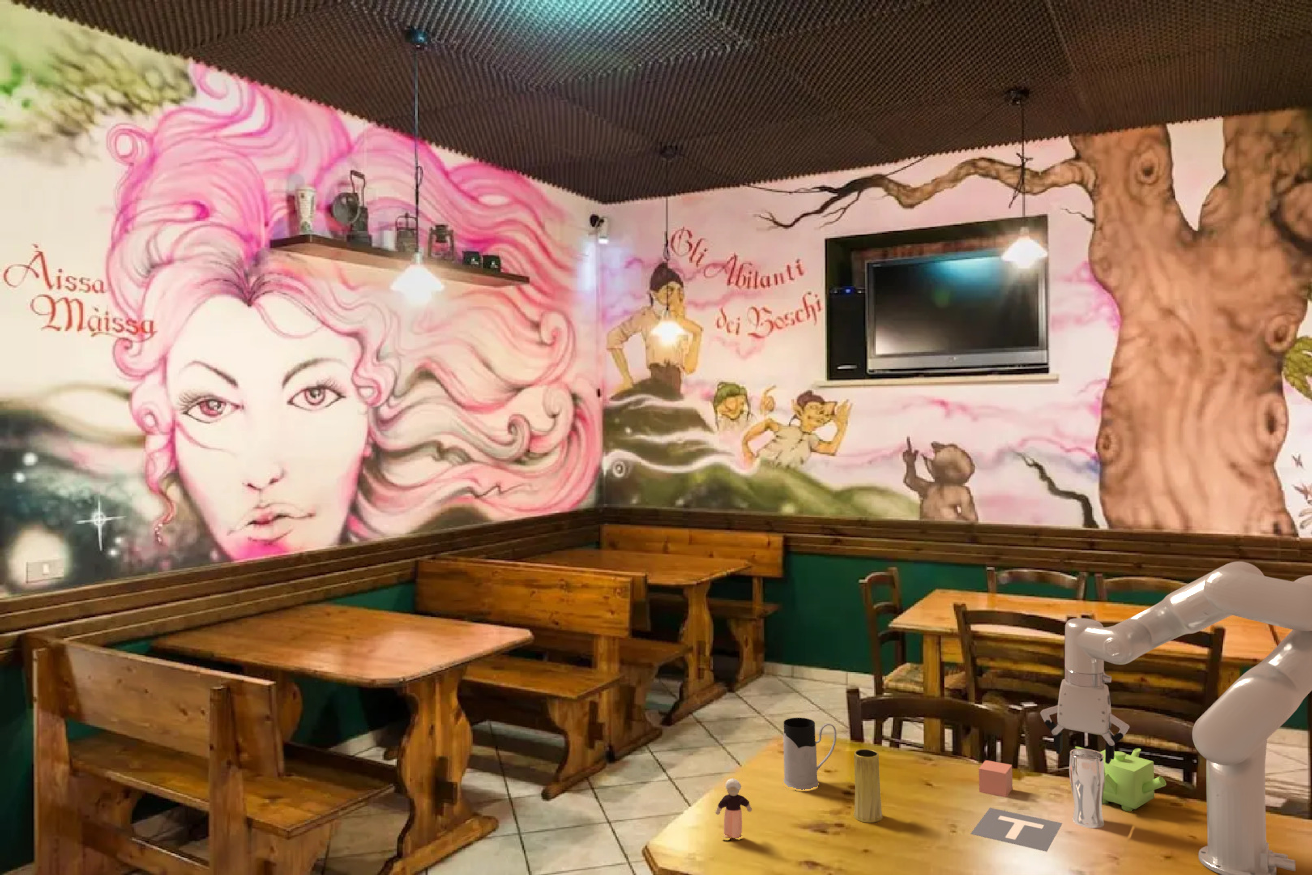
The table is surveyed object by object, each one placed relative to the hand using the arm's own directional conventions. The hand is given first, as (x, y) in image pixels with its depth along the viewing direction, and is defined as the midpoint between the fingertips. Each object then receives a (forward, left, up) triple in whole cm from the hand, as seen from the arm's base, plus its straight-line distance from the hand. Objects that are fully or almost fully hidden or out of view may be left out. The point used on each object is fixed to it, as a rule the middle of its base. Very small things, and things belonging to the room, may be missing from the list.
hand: (1083, 756), depth 194 cm
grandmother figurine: (+60, +45, -14) cm, 77 cm away
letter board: (+11, +11, -14) cm, 21 cm away
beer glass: (-1, 0, -14) cm, 14 cm away
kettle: (-5, -16, -15) cm, 22 cm away
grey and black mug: (+59, +10, -15) cm, 62 cm away
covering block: (+20, -7, -14) cm, 26 cm away
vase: (+40, +21, -15) cm, 48 cm away
